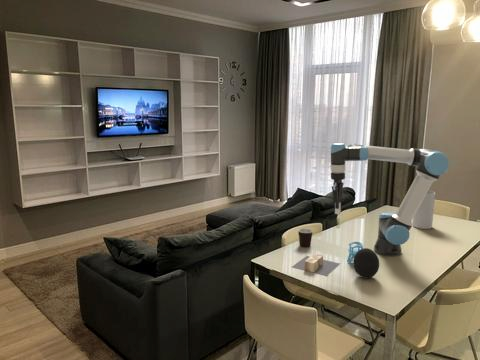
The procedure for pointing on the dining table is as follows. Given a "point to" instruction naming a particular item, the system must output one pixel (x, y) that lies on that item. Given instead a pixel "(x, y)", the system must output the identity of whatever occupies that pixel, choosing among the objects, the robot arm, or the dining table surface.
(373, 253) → the decorative egg
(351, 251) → the chair
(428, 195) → the cylinder vase
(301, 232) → the coffee mug
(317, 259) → the wood block
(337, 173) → the robot arm
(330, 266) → the mat
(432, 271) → the dining table surface
